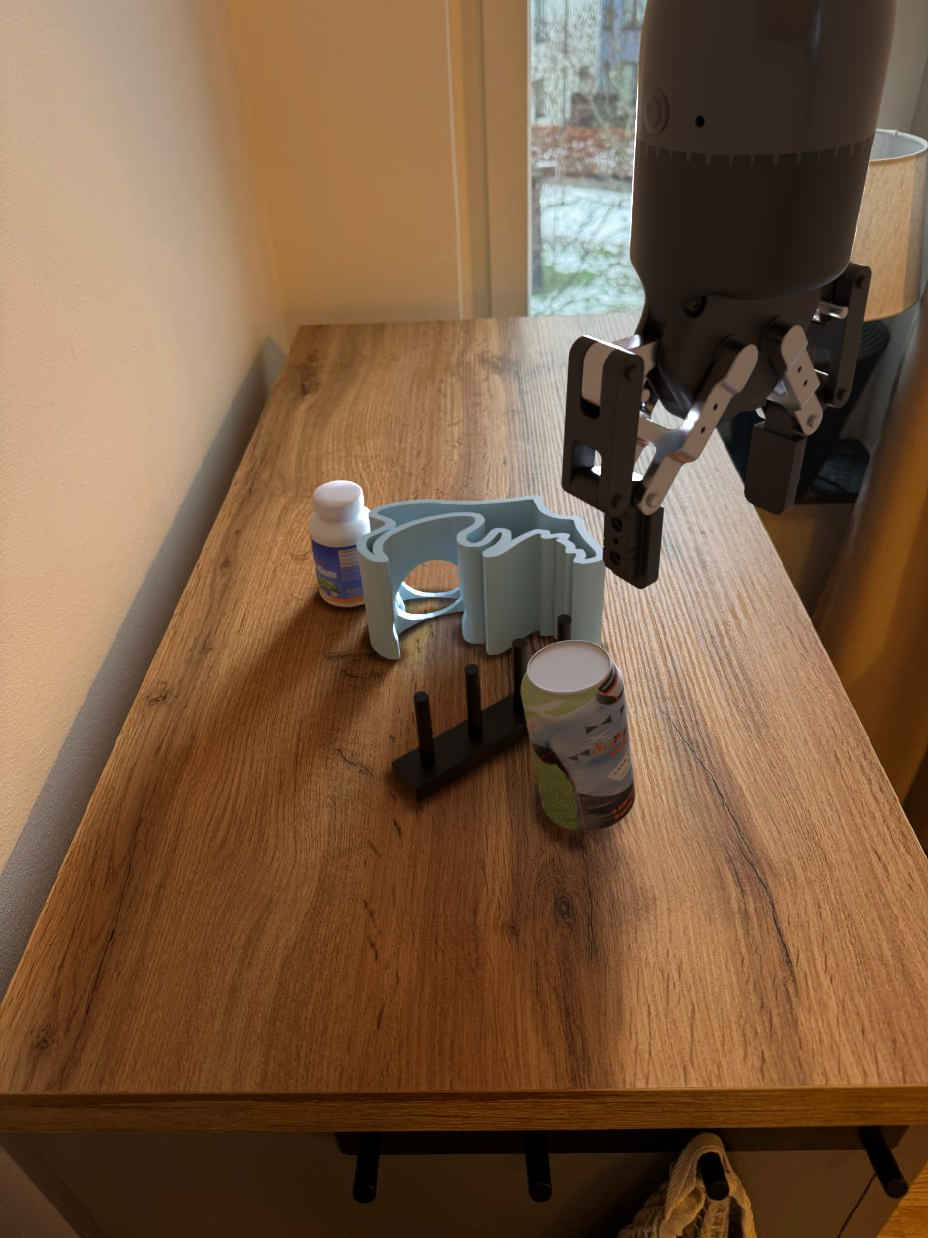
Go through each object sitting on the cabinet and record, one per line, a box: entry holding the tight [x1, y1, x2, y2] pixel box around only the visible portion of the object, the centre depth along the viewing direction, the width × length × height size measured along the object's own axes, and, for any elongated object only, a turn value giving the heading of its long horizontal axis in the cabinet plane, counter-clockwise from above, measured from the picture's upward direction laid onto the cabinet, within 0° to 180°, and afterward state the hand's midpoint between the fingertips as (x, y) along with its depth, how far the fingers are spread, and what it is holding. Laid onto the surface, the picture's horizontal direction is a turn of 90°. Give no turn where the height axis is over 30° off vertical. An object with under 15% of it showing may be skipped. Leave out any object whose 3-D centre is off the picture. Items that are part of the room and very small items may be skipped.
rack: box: [390, 614, 572, 804], centre depth 63 cm, size 3×16×8 cm, turn 127°
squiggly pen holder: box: [356, 495, 607, 660], centre depth 71 cm, size 18×10×9 cm, turn 92°
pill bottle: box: [307, 480, 371, 608], centre depth 76 cm, size 5×5×10 cm
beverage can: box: [521, 640, 636, 832], centre depth 56 cm, size 6×7×12 cm
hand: (703, 540), depth 40 cm, fingers open, 8 cm apart
